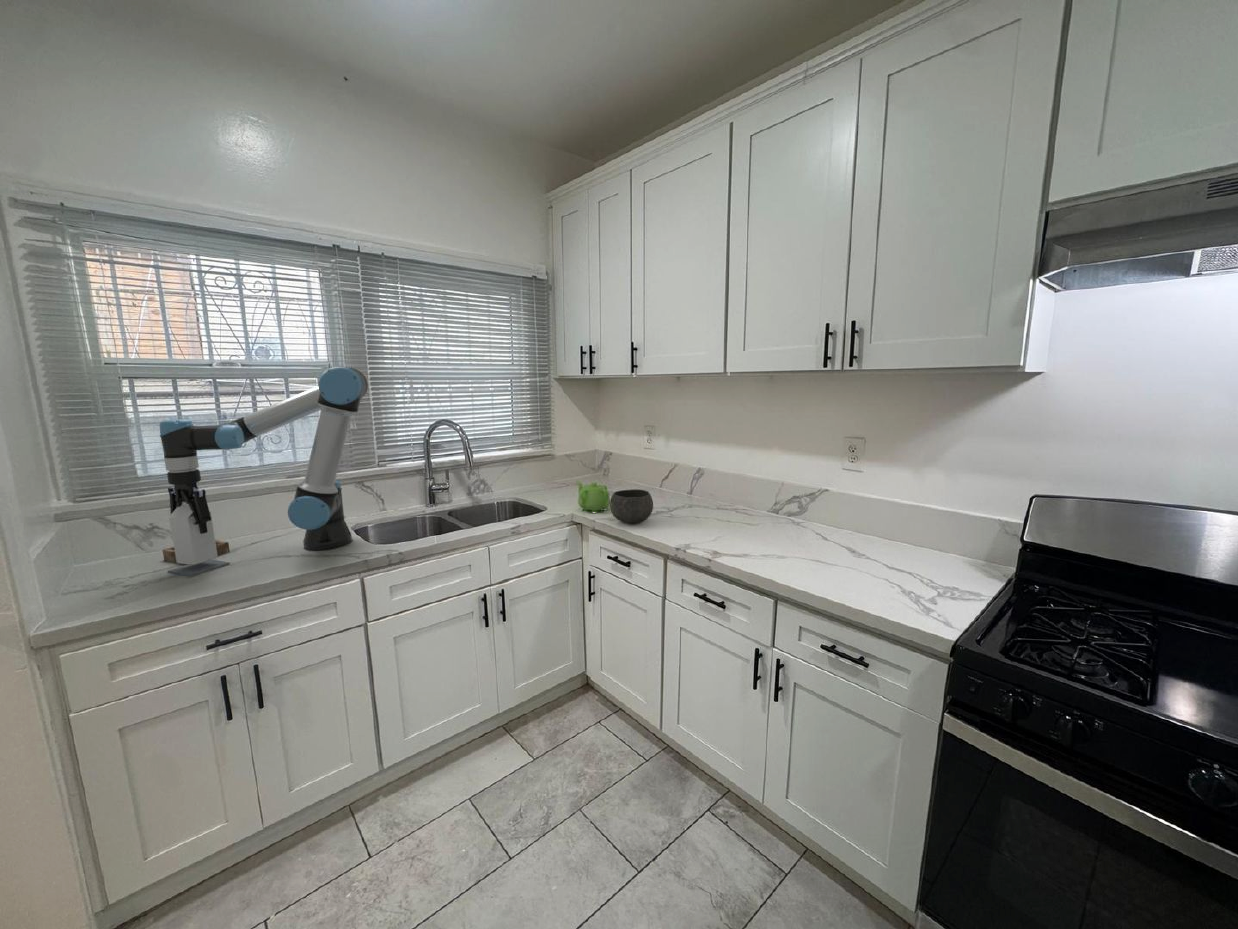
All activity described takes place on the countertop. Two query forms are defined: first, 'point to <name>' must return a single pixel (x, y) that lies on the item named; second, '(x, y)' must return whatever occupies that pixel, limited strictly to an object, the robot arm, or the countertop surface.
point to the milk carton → (190, 537)
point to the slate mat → (198, 568)
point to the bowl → (631, 505)
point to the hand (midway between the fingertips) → (194, 541)
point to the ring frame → (220, 546)
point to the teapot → (593, 497)
